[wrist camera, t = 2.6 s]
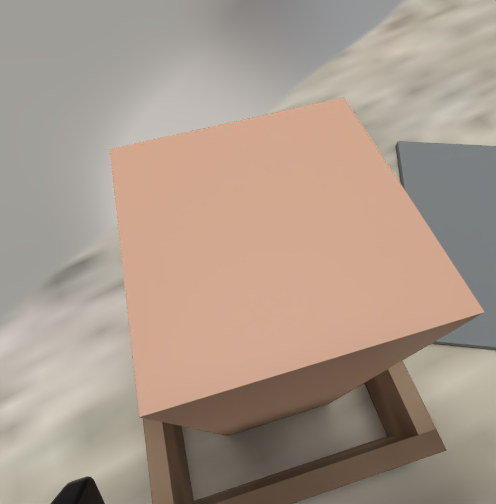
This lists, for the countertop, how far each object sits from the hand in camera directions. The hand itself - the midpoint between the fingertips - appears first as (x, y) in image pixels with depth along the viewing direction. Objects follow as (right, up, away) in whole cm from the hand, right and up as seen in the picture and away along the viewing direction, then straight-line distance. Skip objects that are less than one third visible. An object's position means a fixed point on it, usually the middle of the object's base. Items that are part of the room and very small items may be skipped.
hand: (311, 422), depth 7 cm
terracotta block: (-1, -2, +10) cm, 10 cm away
